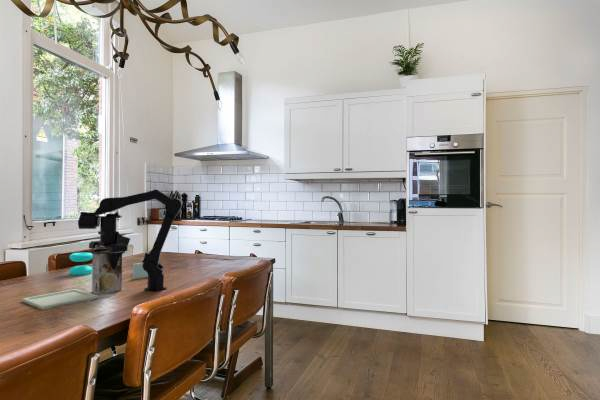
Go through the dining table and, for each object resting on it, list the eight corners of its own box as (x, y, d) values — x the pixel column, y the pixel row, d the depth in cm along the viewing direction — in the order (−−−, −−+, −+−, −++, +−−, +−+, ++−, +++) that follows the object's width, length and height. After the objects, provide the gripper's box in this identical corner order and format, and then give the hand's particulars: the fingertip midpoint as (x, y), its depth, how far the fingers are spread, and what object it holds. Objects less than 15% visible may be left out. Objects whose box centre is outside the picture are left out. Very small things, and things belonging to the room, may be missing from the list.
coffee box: (114, 287, 154) (115, 249, 154) (122, 290, 150) (123, 251, 150) (91, 292, 147) (92, 251, 147) (98, 294, 143) (99, 253, 143)
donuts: (90, 254, 177) (66, 255, 174) (89, 275, 177) (66, 276, 174) (95, 251, 187) (72, 252, 184) (94, 271, 187) (72, 272, 184)
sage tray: (97, 298, 138) (97, 295, 138) (42, 309, 123) (42, 306, 123) (76, 291, 147) (76, 288, 147) (22, 301, 132) (22, 298, 132)
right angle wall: (145, 273, 189) (145, 258, 189) (157, 276, 181) (158, 261, 181) (121, 276, 179) (122, 261, 179) (133, 280, 172) (134, 264, 172)
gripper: (140, 229, 150) (139, 267, 150) (115, 226, 161) (114, 262, 161) (113, 230, 141) (112, 271, 141) (88, 227, 151) (87, 265, 151)
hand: (107, 267), depth 149 cm, fingers open, 9 cm apart
